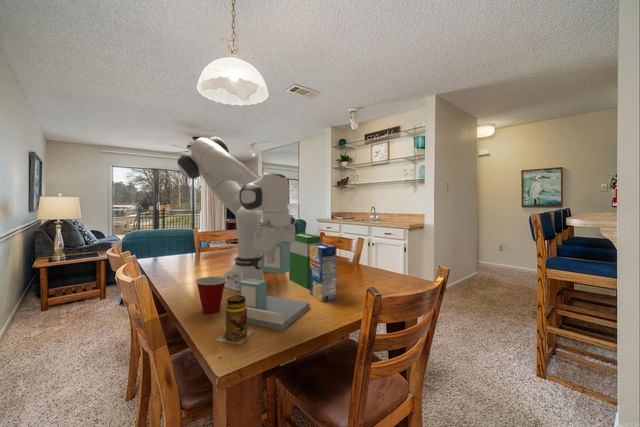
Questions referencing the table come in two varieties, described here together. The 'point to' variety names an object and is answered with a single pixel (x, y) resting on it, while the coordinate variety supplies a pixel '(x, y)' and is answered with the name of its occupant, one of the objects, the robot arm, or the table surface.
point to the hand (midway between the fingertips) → (276, 260)
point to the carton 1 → (253, 293)
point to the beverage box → (323, 271)
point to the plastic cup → (211, 293)
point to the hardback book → (301, 259)
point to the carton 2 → (278, 259)
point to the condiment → (235, 321)
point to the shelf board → (277, 313)
